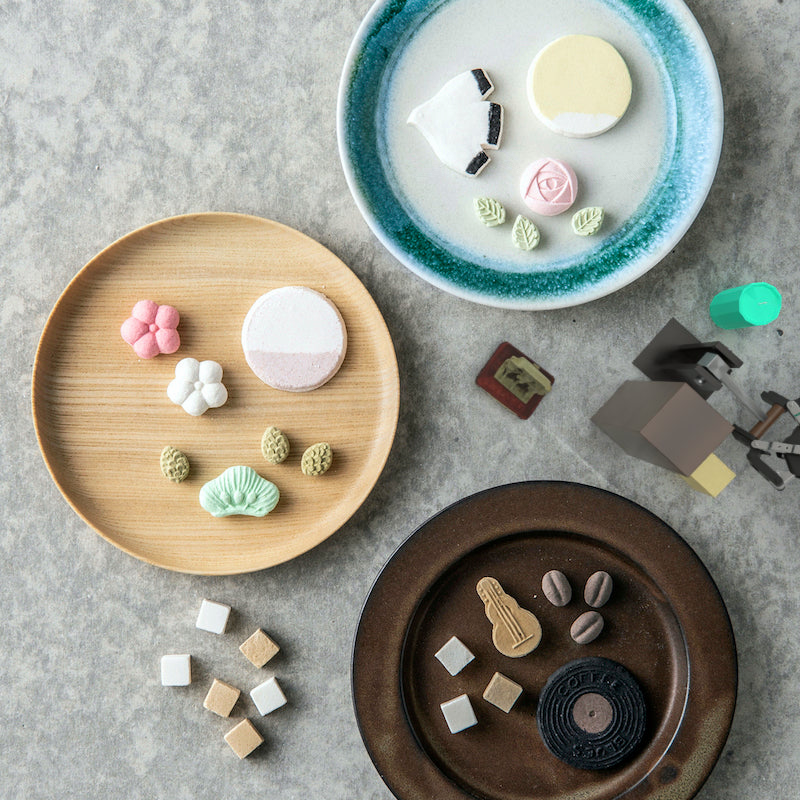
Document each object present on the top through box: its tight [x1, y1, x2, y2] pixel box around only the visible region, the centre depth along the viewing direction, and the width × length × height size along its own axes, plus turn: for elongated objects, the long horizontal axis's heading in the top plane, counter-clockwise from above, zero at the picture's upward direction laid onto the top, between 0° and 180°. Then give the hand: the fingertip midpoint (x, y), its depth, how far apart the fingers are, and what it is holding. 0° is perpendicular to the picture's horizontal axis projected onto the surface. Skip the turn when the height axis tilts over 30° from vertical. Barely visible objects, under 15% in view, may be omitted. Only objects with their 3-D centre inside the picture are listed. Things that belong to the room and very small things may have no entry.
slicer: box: [631, 317, 745, 402], centre depth 101 cm, size 12×9×14 cm
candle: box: [709, 281, 783, 331], centre depth 101 cm, size 6×6×12 cm
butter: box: [677, 452, 737, 499], centre depth 104 cm, size 5×4×8 cm
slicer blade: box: [697, 352, 785, 440], centre depth 97 cm, size 14×6×2 cm, turn 49°
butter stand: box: [590, 379, 735, 477], centre depth 96 cm, size 8×8×24 cm
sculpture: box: [474, 341, 556, 421], centre depth 101 cm, size 10×8×15 cm
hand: (747, 411), depth 101 cm, fingers closed on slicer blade, 5 cm apart
